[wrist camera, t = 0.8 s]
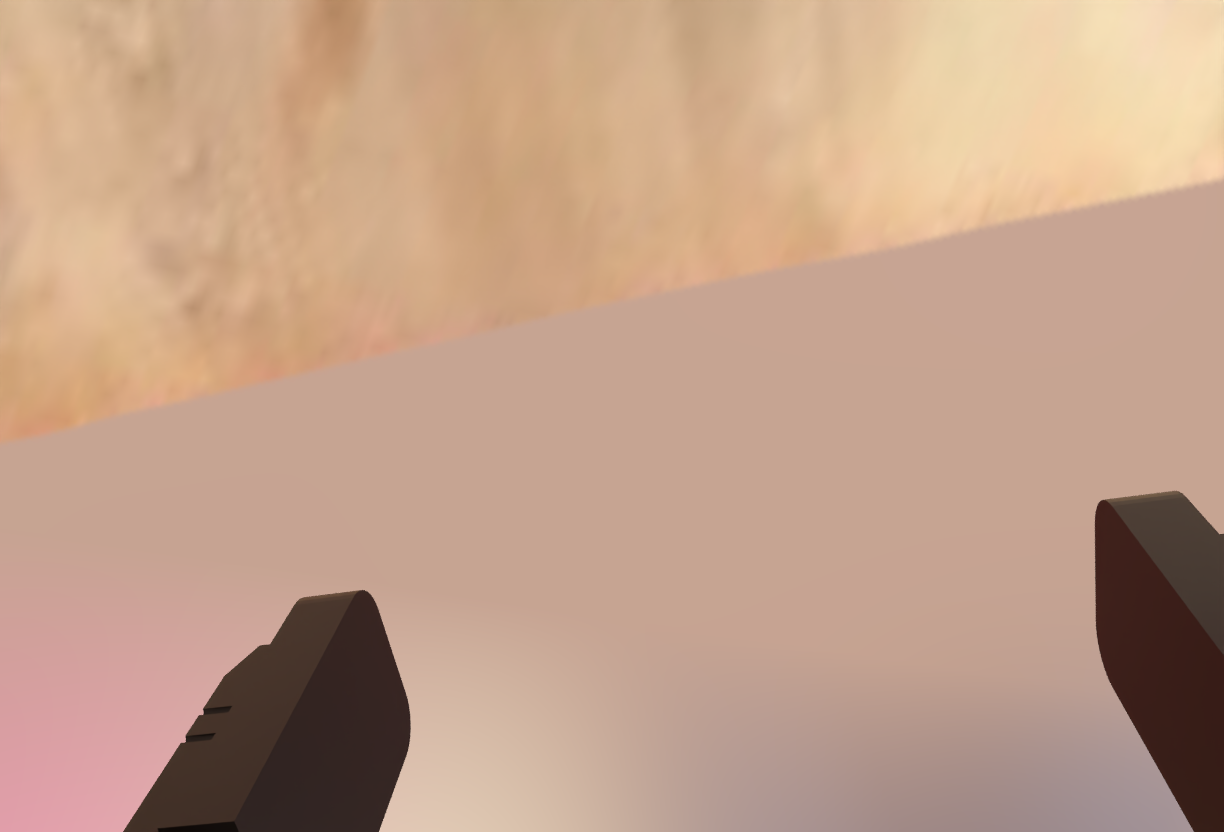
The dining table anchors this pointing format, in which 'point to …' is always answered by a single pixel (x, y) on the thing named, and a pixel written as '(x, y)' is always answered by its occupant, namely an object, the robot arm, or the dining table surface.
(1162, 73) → the dining table surface
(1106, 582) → the robot arm
